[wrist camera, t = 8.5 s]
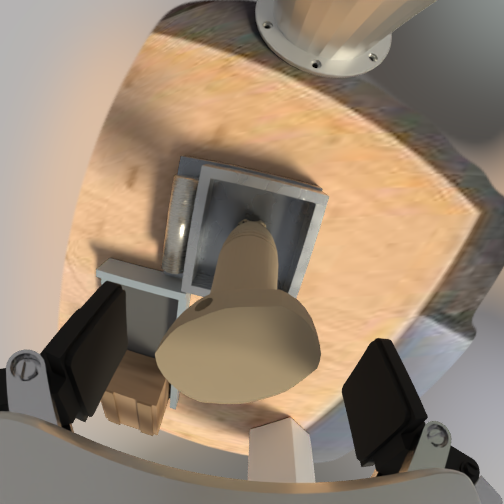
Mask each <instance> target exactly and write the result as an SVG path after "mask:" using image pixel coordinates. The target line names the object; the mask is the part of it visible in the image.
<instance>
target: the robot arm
mask: <svg viewBox="0 0 504 504" xmlns="http://www.w3.org/2000/svg"><path fill="white" fill-rule="evenodd" d="M436 1H437V0H257V3H256V8H255V19H256V23H257V28H258V30H259V32H260V35H261V37H262V39H263V40H264V41H265V43H266V44H267V45H268V47H269V48H270V49H271V50H272V51H273V52H274V53H275V54H276V55H277V56H278V57H280V58H281V59H283V60H284V61H286V62H287V63H288V64H290V65H292V66H294V67H296V68H298V69H300V70H302V71H305V72H308V73H311V74H313V75H317V76H322V77H328V78H348V77H355V76H358V75H361V74H364V73H366V72H368V71H370V70H372V69H373V68H375V67H376V66H377V65H379V64H380V63H381V62H382V61H383V59H384V58H385V57H386V56H387V53H388V51H389V49H390V46H391V39H392V35H391V33H392V32H393V31H394V30H395V29H397V28H398V27H400V26H401V25H402V24H404V23H405V22H406V21H408V20H409V19H411V18H412V17H413V16H415V15H416V14H418V13H419V12H421V11H422V10H424V9H425V8H427V7H428V6H429V5H431V4H432V3H434V2H436ZM265 27H269V28H270V29H266V28H265ZM369 58H370V59H371V60H372V61H371V60H370V59H369ZM313 64H314V65H316V66H317V68H314V67H313V66H312V65H313ZM127 347H128V336H127V317H126V291H125V290H123V289H122V286H121V285H120V284H117V283H114V282H111V281H105V282H104V283H103V284H102V285H101V286H100V288H99V289H98V290H97V291H96V292H95V293H94V294H93V295H92V296H91V297H90V298H89V300H88V301H87V302H86V303H85V304H84V305H83V306H82V307H81V308H80V309H78V310H77V311H76V312H75V313H74V314H73V315H72V316H71V317H70V318H69V320H68V321H67V322H66V323H65V324H64V325H63V327H62V328H61V329H60V330H59V331H58V333H57V334H56V335H55V336H54V337H53V339H52V340H51V341H50V342H49V344H48V345H47V346H46V348H45V349H44V350H43V351H42V352H41V354H38V353H37V352H35V351H32V350H21V351H18V352H16V353H14V354H13V355H12V356H11V357H10V358H9V360H8V362H7V365H6V368H3V369H0V504H502V498H501V497H500V495H499V494H498V493H497V492H496V491H495V490H494V489H493V487H492V486H490V484H489V483H488V482H487V481H486V480H485V479H484V478H483V477H482V476H480V477H479V473H480V472H479V467H478V464H477V463H476V462H475V460H473V459H472V458H470V457H469V456H467V455H465V454H464V453H462V452H461V451H459V450H457V449H456V448H454V447H452V446H451V434H450V432H449V430H448V429H447V427H446V426H445V425H443V424H442V423H440V422H438V421H431V422H428V423H427V424H426V425H425V422H424V421H425V420H426V419H427V418H428V417H427V414H426V412H425V409H424V407H423V405H422V403H421V400H420V398H419V396H418V394H417V392H416V389H415V387H414V385H413V383H412V381H411V379H410V377H409V375H408V373H407V371H406V369H405V367H404V364H403V362H402V360H401V358H400V357H399V355H398V353H397V351H396V349H395V347H394V345H393V343H392V341H391V340H389V339H381V338H377V339H375V340H374V341H372V342H371V343H370V344H369V346H368V348H367V349H366V351H365V353H364V354H363V356H362V357H361V359H360V361H359V362H358V364H357V365H356V367H355V369H354V370H353V372H352V373H351V375H350V376H349V378H348V379H347V381H346V382H345V384H344V385H343V388H342V395H343V399H344V403H345V407H346V412H347V416H348V420H349V425H350V429H351V434H352V438H353V443H354V447H355V452H356V456H357V459H358V460H359V461H360V463H361V467H366V466H373V465H374V464H375V467H376V469H375V471H374V473H373V474H372V476H371V478H366V479H358V480H349V481H337V482H319V483H278V482H261V481H249V480H239V479H231V478H224V477H217V476H211V475H205V474H200V473H195V472H190V471H186V470H181V469H177V468H173V467H168V466H165V465H161V464H158V463H154V462H151V461H147V460H144V459H141V458H138V457H135V456H132V455H129V454H126V453H123V452H120V451H117V450H115V449H112V448H109V447H107V446H104V445H102V444H99V443H96V442H94V441H92V440H89V439H87V438H85V437H83V436H80V435H78V434H76V433H74V431H73V428H72V423H73V422H74V420H75V418H77V419H79V420H81V421H83V422H86V420H87V418H88V416H89V417H92V416H93V414H94V413H95V411H96V409H97V406H98V405H99V403H100V401H101V399H102V397H103V395H104V393H105V391H106V389H107V387H108V385H109V383H110V381H111V379H112V377H113V375H114V373H115V371H116V370H117V368H118V366H119V364H120V362H121V360H122V358H123V357H124V355H125V353H126V351H127Z"/></svg>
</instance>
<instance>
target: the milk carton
mask: <svg viewBox="0 0 504 504" xmlns="http://www.w3.org/2000/svg"><path fill="white" fill-rule="evenodd" d="M248 480H249V481H261V482H278V483H315V475H314V466H313V458H312V450H311V442H310V435H309V434H308V433H307V432H306V431H305V430H304V429H303V428H302V427H300V426H299V425H298V424H297V423H296V422H295V421H294V420H293V419H292V418H291V417H289V418H286V419H283V420H280V421H277V422H274V423H270V424H267V425H264V426H260V427H257V428H253V429H250V436H249V462H248Z"/></svg>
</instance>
